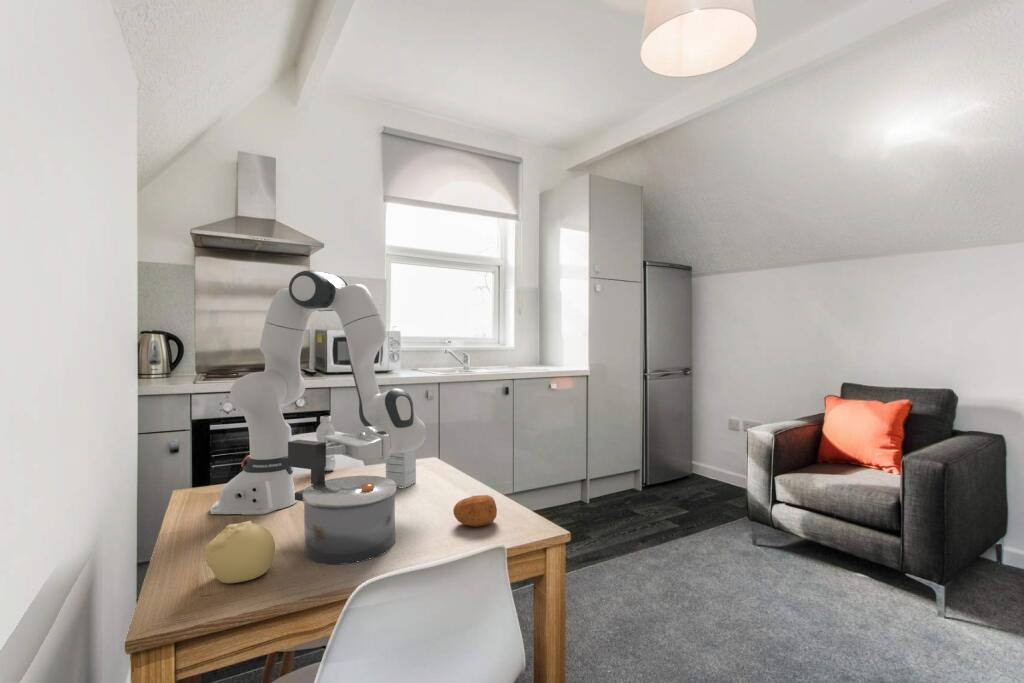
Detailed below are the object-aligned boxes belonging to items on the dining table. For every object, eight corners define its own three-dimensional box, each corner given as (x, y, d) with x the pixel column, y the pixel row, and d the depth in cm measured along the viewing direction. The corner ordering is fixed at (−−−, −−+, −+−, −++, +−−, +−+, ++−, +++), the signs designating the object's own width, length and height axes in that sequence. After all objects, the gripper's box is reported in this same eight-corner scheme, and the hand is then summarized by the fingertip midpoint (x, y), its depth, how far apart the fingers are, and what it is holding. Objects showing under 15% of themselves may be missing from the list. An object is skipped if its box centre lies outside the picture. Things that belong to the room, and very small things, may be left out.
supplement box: (397, 480, 169) (397, 443, 169) (416, 482, 166) (416, 445, 166) (385, 486, 162) (384, 448, 162) (404, 489, 159) (404, 449, 159)
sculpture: (228, 564, 106) (227, 513, 106) (284, 563, 107) (284, 513, 107) (194, 591, 95) (194, 534, 95) (258, 590, 95) (257, 533, 95)
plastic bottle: (329, 473, 178) (329, 418, 178) (312, 472, 179) (312, 417, 179) (339, 469, 184) (338, 415, 184) (322, 468, 186) (322, 414, 186)
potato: (497, 531, 124) (496, 501, 123) (451, 532, 123) (451, 502, 123) (496, 518, 133) (496, 490, 133) (454, 519, 132) (454, 490, 132)
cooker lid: (413, 485, 121) (413, 441, 121) (355, 512, 102) (354, 460, 102) (324, 473, 132) (324, 433, 132) (257, 496, 113) (256, 449, 113)
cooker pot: (412, 537, 120) (412, 487, 120) (351, 571, 102) (350, 513, 102) (331, 519, 132) (331, 474, 132) (264, 547, 114) (263, 495, 114)
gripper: (352, 426, 141) (304, 433, 131) (392, 435, 127) (341, 443, 117) (353, 448, 141) (304, 457, 131) (392, 459, 127) (341, 470, 117)
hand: (322, 450), depth 124 cm, fingers closed
